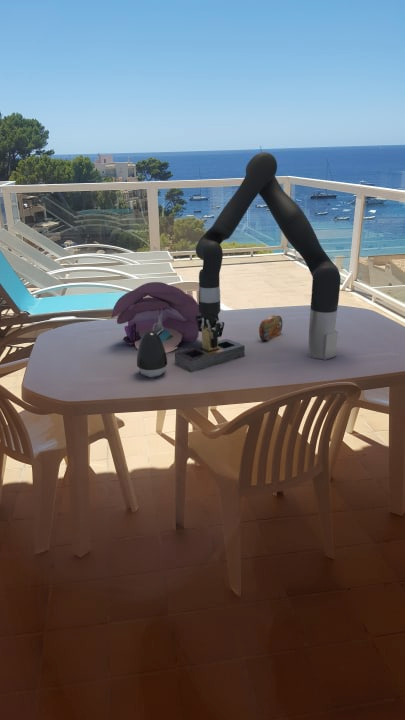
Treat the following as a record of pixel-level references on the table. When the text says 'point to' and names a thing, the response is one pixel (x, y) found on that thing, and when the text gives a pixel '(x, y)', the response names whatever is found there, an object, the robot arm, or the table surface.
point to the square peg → (207, 341)
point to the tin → (270, 327)
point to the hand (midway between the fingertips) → (210, 345)
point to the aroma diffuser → (151, 354)
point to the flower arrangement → (158, 314)
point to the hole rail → (209, 355)
